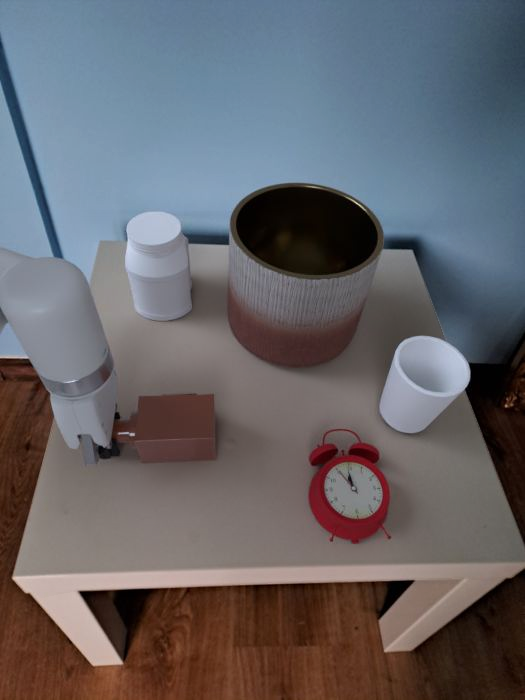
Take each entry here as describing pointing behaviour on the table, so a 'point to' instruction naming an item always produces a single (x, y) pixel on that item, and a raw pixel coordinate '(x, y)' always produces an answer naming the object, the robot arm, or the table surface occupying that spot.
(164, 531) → the table surface
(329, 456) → the alarm clock
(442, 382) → the cup
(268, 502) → the table surface
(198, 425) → the brown handled box
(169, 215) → the jar
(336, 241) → the planter
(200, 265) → the table surface
